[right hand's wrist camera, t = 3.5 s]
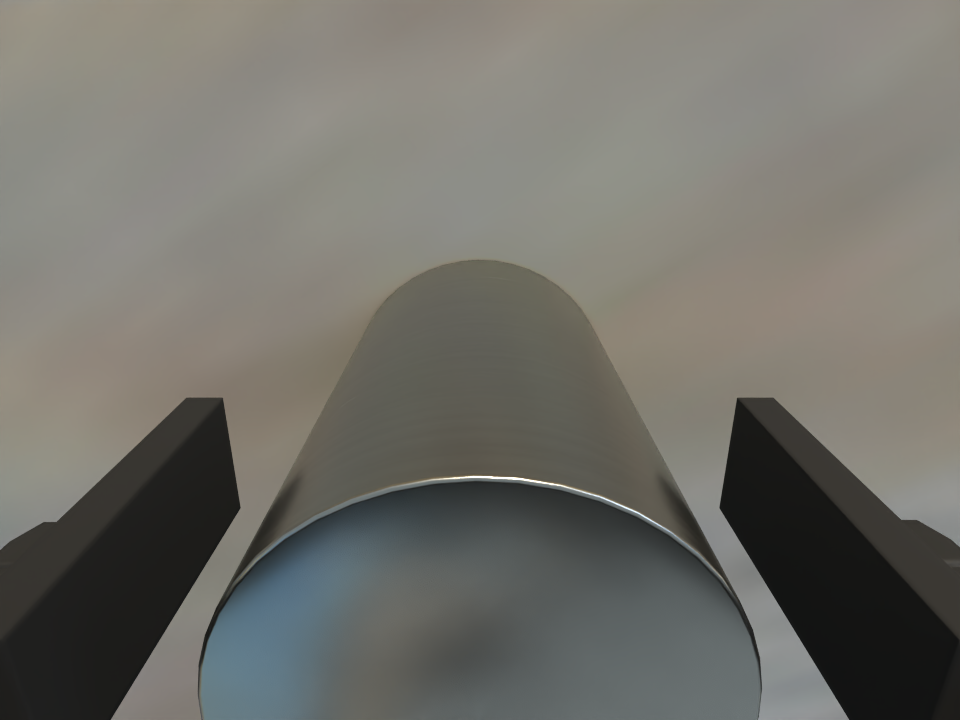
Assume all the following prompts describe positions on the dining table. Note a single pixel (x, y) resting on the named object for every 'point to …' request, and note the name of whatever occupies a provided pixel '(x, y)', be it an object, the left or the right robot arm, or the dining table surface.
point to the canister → (479, 537)
